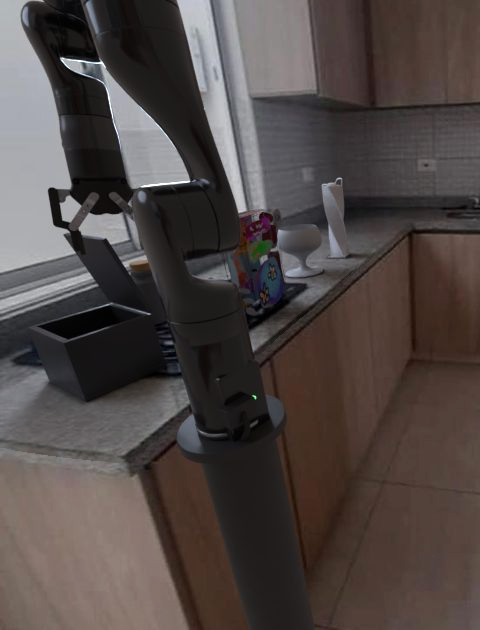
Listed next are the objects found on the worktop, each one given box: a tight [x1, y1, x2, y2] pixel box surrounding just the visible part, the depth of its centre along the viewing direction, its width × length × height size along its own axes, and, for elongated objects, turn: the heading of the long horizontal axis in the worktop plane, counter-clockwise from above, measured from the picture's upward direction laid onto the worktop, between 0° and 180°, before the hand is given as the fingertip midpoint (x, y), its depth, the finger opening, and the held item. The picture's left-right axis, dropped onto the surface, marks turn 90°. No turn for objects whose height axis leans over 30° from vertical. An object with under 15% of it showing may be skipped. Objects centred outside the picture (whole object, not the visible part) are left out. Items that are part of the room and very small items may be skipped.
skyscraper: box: [321, 177, 351, 260], centre depth 159 cm, size 8×8×28 cm
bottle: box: [128, 259, 167, 326], centre depth 107 cm, size 6×6×15 cm
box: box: [221, 208, 288, 323], centre depth 112 cm, size 25×6×24 cm, turn 170°
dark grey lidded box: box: [27, 302, 167, 402], centre depth 82 cm, size 14×15×11 cm
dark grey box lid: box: [62, 232, 153, 313], centre depth 81 cm, size 15×15×1 cm
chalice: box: [277, 223, 324, 278], centre depth 142 cm, size 14×14×15 cm
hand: (114, 251), depth 74 cm, fingers open, 8 cm apart
